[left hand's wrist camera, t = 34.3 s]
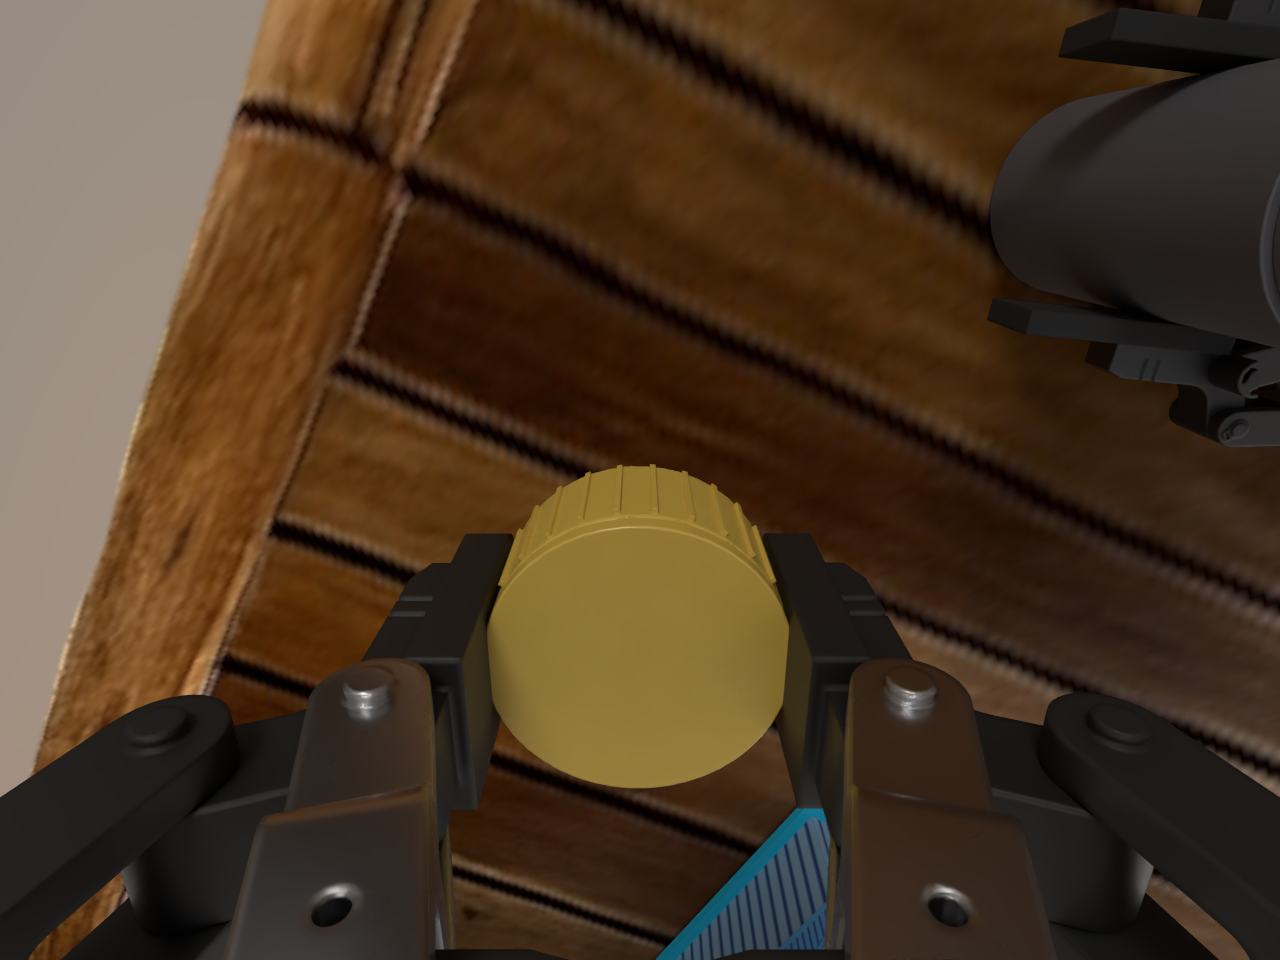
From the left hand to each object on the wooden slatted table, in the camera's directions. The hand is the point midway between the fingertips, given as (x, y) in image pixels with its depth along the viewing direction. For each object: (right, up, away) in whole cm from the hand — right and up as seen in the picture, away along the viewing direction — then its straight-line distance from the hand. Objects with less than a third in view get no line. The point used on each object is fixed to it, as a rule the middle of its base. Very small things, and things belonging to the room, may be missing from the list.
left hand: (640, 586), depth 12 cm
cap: (0, -1, -2) cm, 2 cm away
